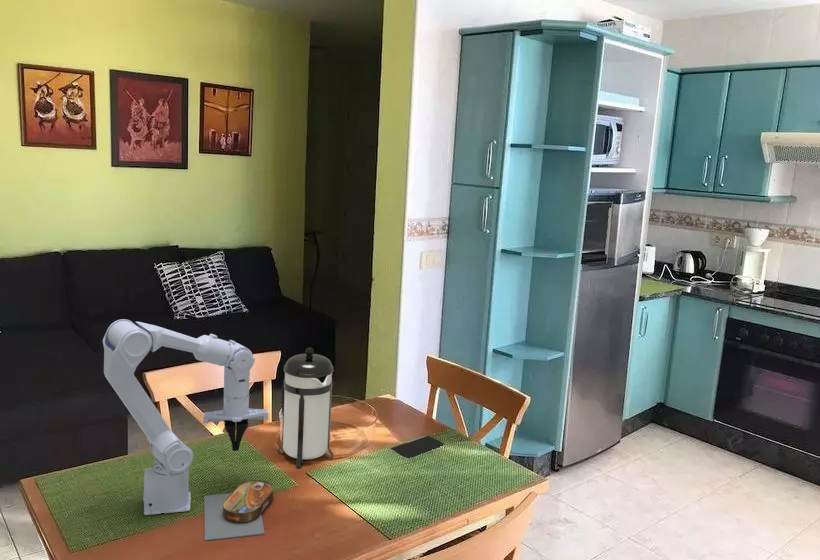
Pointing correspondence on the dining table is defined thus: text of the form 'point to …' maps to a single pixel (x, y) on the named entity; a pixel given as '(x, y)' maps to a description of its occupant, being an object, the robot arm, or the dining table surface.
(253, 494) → the tin
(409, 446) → the smartphone
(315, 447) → the coffee press
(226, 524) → the mat
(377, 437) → the dining table surface
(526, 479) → the dining table surface
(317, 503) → the dining table surface
